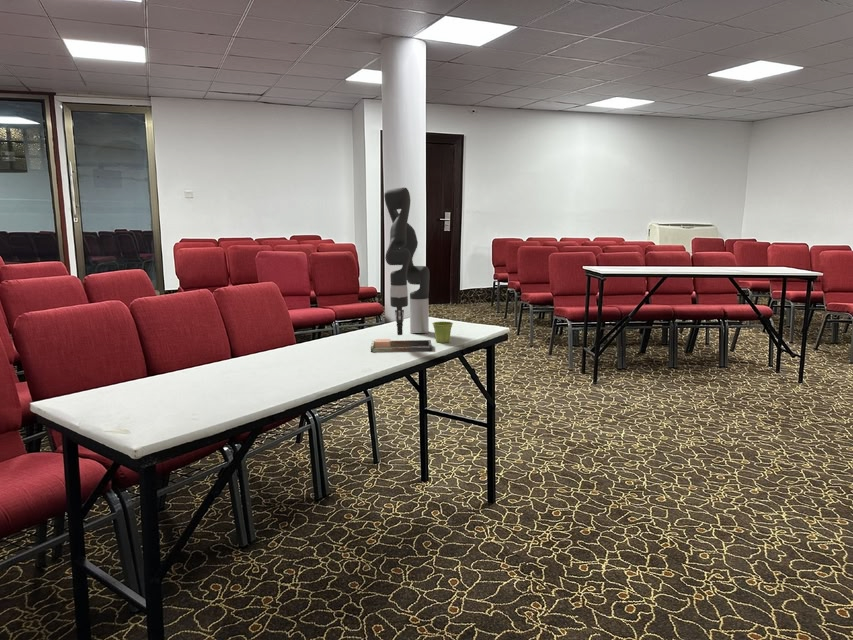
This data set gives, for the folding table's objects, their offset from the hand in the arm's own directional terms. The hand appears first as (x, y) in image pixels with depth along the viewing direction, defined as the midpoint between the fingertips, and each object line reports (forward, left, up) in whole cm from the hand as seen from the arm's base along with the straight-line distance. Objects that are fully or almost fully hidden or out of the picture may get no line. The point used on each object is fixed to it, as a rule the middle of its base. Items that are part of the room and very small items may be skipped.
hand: (399, 334), depth 254 cm
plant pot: (-14, +20, -6) cm, 25 cm away
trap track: (0, +1, -6) cm, 6 cm away
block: (0, -8, -6) cm, 10 cm away
